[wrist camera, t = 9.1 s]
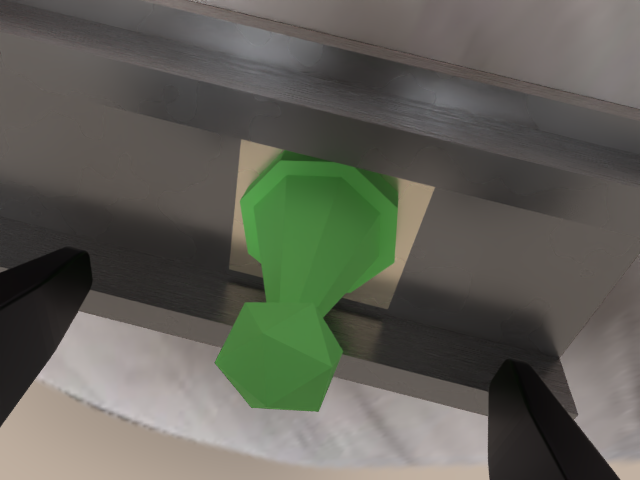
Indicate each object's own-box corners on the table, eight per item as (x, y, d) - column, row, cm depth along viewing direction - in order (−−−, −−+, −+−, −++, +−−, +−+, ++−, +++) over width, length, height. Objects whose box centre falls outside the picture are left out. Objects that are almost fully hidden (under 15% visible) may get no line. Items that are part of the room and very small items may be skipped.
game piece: (433, 182, 12) (448, 377, 7) (364, 298, 14) (339, 500, 9) (270, 114, 11) (162, 268, 6) (229, 245, 14) (130, 426, 9)
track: (701, 124, 11) (785, 185, 8) (528, 367, 16) (548, 447, 14) (-273, -111, 11) (-460, -118, 9) (-131, 199, 17) (-224, 248, 14)
